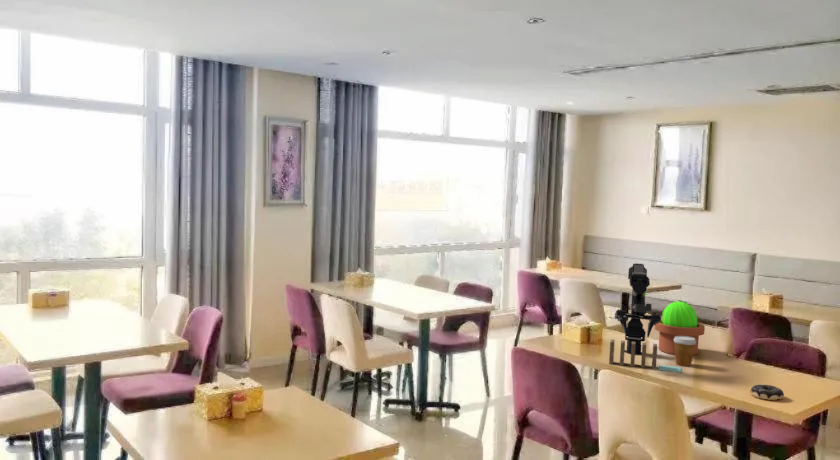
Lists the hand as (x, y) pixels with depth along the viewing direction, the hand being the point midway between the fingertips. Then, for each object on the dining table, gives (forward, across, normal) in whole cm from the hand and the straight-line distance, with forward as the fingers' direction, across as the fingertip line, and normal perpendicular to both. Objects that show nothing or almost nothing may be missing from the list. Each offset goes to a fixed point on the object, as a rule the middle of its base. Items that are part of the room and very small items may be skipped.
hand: (636, 335), depth 303 cm
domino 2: (+10, -4, +12) cm, 17 cm away
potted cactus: (-5, +27, +42) cm, 50 cm away
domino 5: (+10, +9, +10) cm, 17 cm away
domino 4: (+10, +5, +11) cm, 16 cm away
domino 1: (+10, -8, +13) cm, 19 cm away
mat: (+11, +16, +9) cm, 21 cm away
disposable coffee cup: (+6, +24, +18) cm, 31 cm away
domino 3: (+10, 0, +12) cm, 16 cm away
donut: (+24, +45, -21) cm, 55 cm away
